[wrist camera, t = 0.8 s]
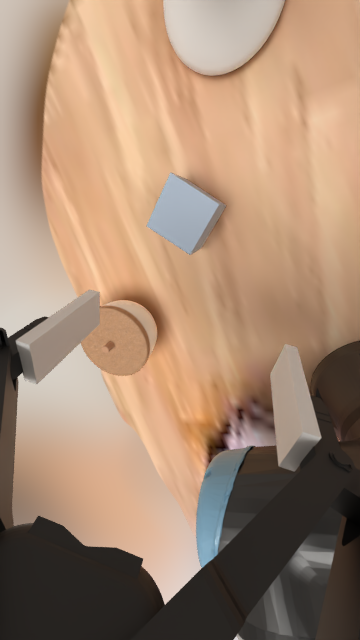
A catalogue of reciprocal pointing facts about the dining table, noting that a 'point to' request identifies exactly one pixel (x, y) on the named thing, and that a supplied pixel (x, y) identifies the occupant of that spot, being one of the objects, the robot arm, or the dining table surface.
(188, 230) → the block
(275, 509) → the robot arm
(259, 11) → the flower in vase
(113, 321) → the lidded jar
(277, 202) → the dining table surface
